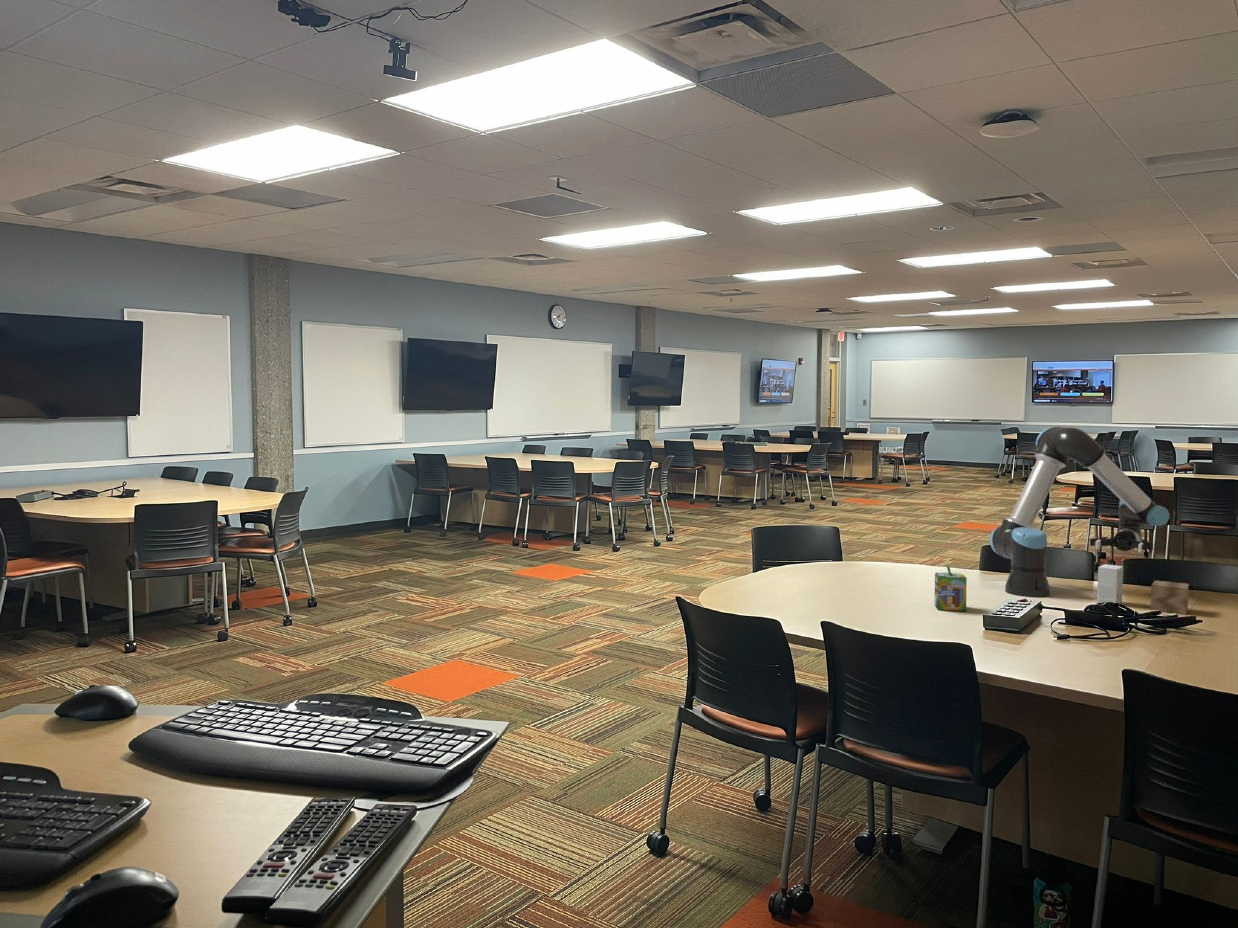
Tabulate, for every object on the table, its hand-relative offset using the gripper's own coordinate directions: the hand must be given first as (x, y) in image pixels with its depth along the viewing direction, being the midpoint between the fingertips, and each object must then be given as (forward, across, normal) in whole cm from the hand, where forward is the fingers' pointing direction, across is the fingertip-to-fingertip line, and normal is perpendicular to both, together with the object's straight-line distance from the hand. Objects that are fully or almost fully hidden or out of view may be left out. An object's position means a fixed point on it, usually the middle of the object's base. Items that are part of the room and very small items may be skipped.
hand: (1117, 547), depth 324 cm
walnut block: (+10, -17, -19) cm, 28 cm away
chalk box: (+54, +43, -18) cm, 71 cm away
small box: (+10, +1, -19) cm, 21 cm away
